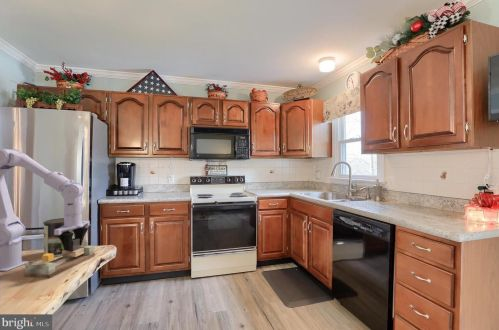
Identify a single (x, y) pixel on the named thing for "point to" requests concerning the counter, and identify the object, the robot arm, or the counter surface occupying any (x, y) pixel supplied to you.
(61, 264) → the rail board
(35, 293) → the counter surface
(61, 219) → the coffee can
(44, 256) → the button
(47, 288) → the counter surface
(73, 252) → the carriage
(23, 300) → the counter surface
